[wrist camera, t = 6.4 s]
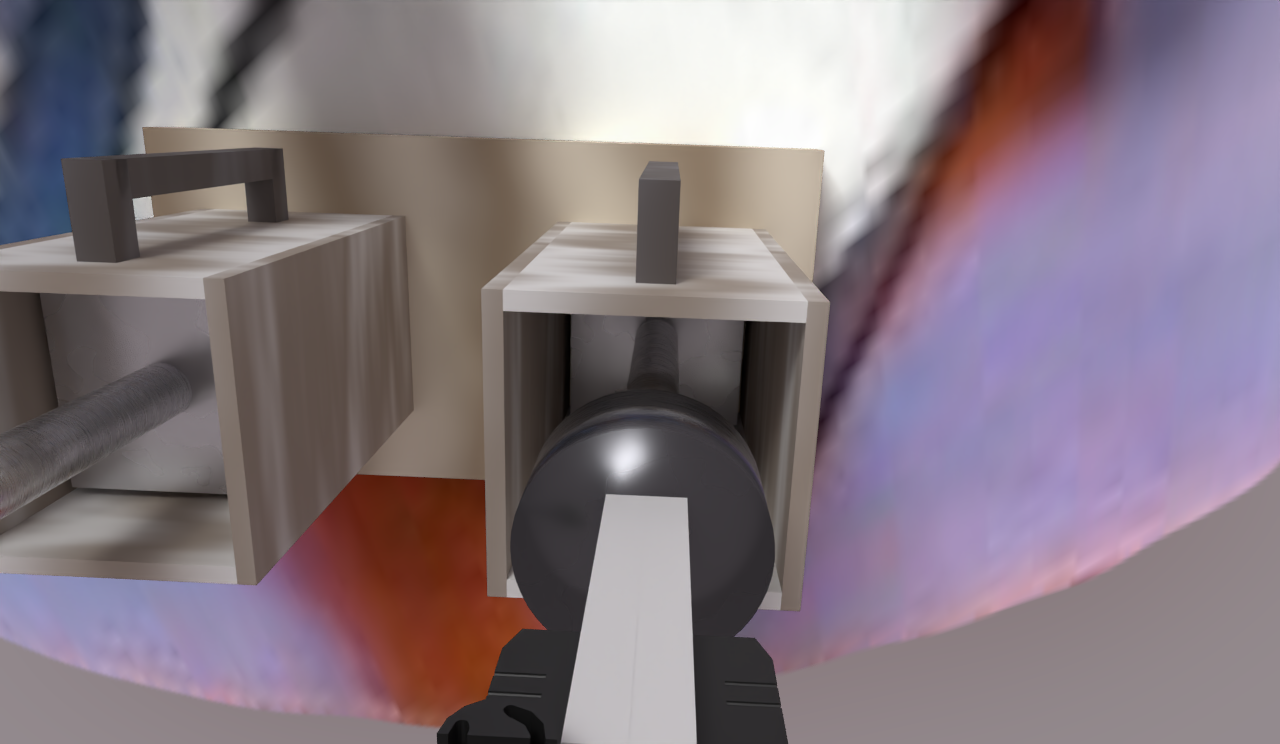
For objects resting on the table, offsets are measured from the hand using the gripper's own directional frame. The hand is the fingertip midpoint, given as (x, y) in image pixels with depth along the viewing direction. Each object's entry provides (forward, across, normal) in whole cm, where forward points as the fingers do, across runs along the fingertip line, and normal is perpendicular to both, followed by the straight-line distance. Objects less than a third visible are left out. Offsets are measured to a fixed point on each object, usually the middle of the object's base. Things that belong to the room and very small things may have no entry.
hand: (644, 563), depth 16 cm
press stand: (+21, -7, 0) cm, 22 cm away
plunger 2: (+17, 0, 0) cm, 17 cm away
